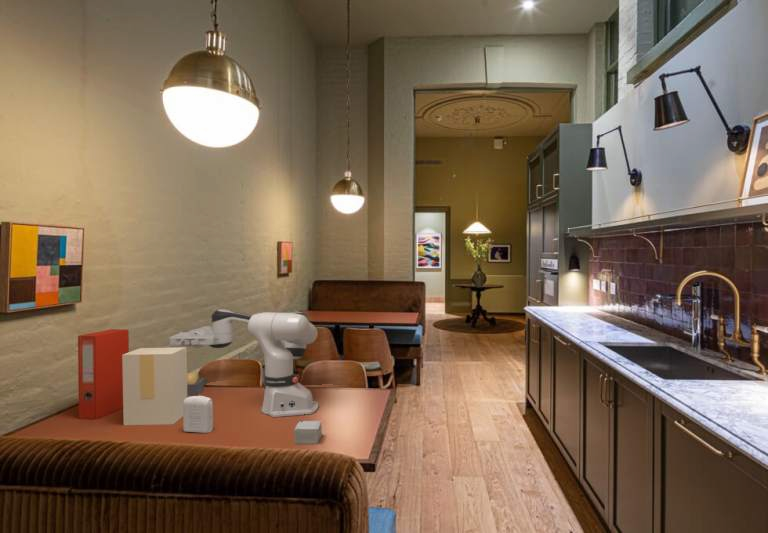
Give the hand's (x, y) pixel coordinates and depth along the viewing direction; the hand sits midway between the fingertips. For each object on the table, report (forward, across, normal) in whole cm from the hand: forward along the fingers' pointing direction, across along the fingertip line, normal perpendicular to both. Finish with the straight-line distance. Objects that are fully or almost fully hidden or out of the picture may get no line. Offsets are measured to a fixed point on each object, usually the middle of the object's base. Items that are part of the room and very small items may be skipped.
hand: (186, 343), depth 203 cm
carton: (+29, 0, -24) cm, 37 cm away
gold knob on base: (-11, 0, -24) cm, 26 cm away
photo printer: (+42, -22, -24) cm, 53 cm away
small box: (+52, -62, -24) cm, 84 cm away
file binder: (+19, +24, -24) cm, 39 cm away
